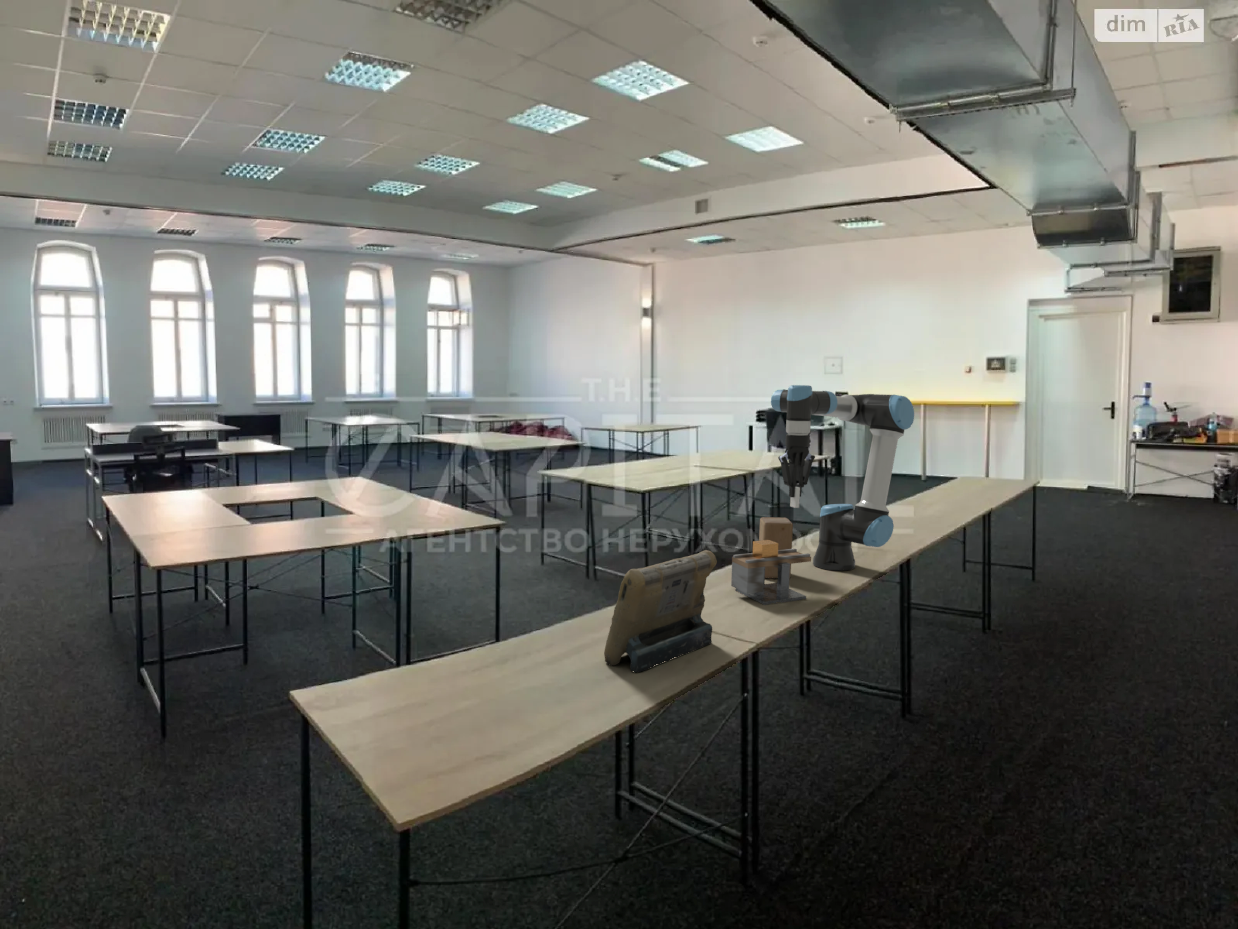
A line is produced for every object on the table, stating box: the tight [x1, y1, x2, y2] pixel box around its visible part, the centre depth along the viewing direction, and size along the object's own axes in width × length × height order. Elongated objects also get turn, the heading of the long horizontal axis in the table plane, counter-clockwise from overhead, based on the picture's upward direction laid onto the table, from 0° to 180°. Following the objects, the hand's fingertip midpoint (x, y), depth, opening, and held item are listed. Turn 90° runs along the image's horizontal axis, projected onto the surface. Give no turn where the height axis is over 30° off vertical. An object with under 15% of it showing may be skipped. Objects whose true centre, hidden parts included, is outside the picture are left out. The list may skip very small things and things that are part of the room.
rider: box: [752, 540, 778, 559], centre depth 241 cm, size 6×5×5 cm
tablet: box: [603, 549, 718, 673], centre depth 192 cm, size 33×14×25 cm, turn 141°
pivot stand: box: [735, 562, 807, 606], centre depth 243 cm, size 16×16×12 cm
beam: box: [730, 548, 812, 594], centre depth 243 cm, size 24×9×10 cm, turn 114°
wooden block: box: [758, 516, 794, 579], centre depth 266 cm, size 10×10×20 cm
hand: (794, 506), depth 243 cm, fingers closed
